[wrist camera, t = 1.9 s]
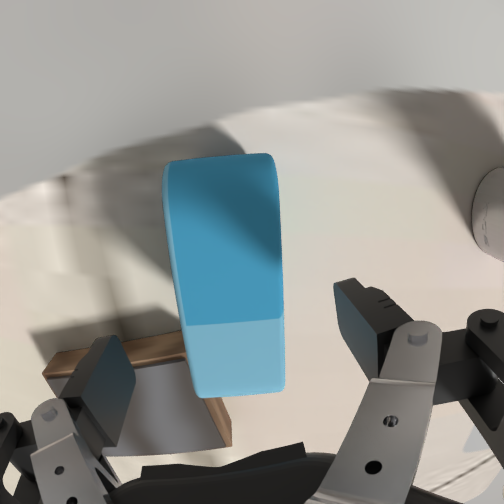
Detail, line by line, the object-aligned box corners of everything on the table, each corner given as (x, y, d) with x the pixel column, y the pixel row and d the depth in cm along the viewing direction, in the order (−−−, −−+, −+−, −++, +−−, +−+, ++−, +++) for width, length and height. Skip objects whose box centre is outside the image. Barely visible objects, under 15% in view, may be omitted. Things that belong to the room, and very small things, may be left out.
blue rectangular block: (263, 303, 27) (286, 404, 15) (208, 308, 27) (198, 411, 15) (253, 153, 23) (277, 152, 12) (192, 158, 23) (156, 163, 12)
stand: (193, 327, 27) (188, 354, 23) (231, 421, 31) (232, 449, 27) (56, 353, 27) (40, 375, 23) (108, 434, 31) (99, 458, 27)
